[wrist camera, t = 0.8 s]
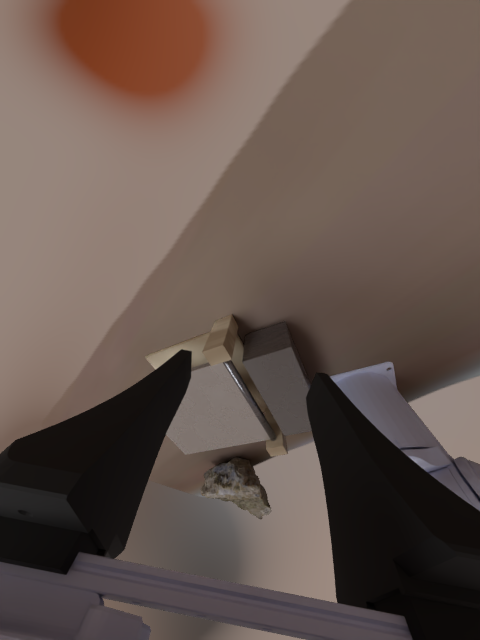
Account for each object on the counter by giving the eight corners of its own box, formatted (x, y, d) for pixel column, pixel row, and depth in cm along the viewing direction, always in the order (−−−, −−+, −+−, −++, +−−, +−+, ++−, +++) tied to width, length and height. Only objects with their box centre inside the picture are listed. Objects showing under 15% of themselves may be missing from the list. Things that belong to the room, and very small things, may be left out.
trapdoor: (316, 397, 24) (327, 432, 20) (195, 425, 29) (185, 457, 25) (282, 315, 19) (288, 340, 15) (144, 364, 24) (122, 392, 20)
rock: (256, 498, 24) (276, 523, 29) (261, 446, 29) (278, 475, 34) (183, 486, 28) (211, 510, 33) (198, 442, 33) (221, 469, 38)
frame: (282, 410, 27) (287, 454, 22) (205, 427, 30) (194, 468, 25) (231, 314, 20) (223, 344, 16) (141, 349, 24) (111, 383, 19)
